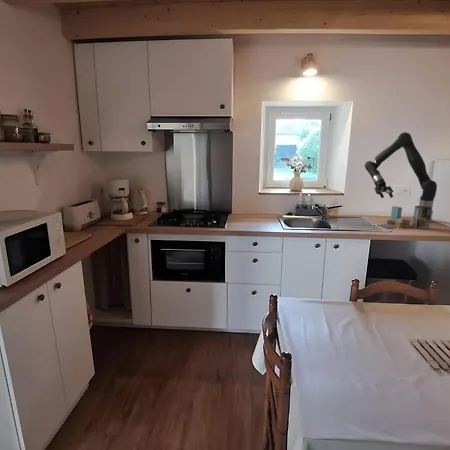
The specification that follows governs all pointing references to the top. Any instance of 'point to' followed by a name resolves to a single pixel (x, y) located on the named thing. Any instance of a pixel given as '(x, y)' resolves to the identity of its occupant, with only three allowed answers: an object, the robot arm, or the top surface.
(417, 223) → the coffee box
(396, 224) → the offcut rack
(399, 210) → the pale teal pillar
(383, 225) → the slate mat
